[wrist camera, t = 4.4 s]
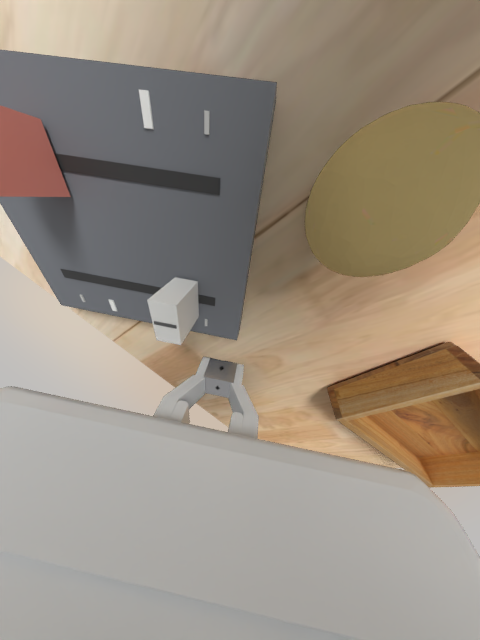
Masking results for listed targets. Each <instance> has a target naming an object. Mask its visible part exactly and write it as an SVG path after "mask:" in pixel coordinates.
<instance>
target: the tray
mask: <svg viewBox="0 0 480 640" xmlns="http://www.w3.org/2000/svg"><path fill="white" fill-rule="evenodd" d="M327 389H328V393H329V397H330V401H331V404H332V407H333V411H334V414H335V417H336V420H337V421H339V422H340V423H342V424H343V425H344V426H346V427H347V428H348V429H350V430H351V431H352V432H354V433H355V434H357V435H358V436H359V437H361V438H362V439H364V440H365V441H366V442H368V443H369V444H370V445H372V446H373V447H374V448H376V449H377V450H379V451H380V452H381V453H383V454H384V455H385V456H387V457H388V458H390V459H391V460H392V461H394V462H395V463H396V464H398V465H399V466H400V467H402V468H403V469H405V470H406V471H408V472H411V473H413V474H415V475H416V476H417V477H418V478H419V479H420V480H421V481H423V482H424V483H425V484H426V485H427V486H428V487H459V486H480V363H478V362H477V361H476V360H475V359H474V358H472V357H471V356H470V355H469V354H467V353H466V352H465V351H464V350H462V349H461V348H460V347H458V346H456V345H455V344H453V343H452V342H446V343H444V344H441V345H439V346H436V347H433V348H431V349H428V350H425V351H423V352H420V353H417V354H415V355H412V356H410V357H407V358H404V359H401V360H399V361H396V362H393V363H391V364H388V365H386V366H383V367H380V368H378V369H375V370H372V371H370V372H367V373H364V374H362V375H359V376H356V377H354V378H351V379H349V380H346V381H343V382H340V383H338V384H335V385H332V386H330V387H327Z"/></svg>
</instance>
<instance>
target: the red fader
mask: <svg viewBox="0 0 480 640" xmlns="http://www.w3.org/2000/svg"><path fill="white" fill-rule="evenodd" d="M0 197H71V196H70V194H69V191H68V189H67V186H66V183H65V181H64V178H63V176H62V173H61V170H60V168H59V165H58V163H57V160H56V157H55V155H54V152H53V150H52V147H51V145H50V142H49V139H48V137H47V134H46V132H45V129H44V126H43V124H42V121H41V119H39V118H36V117H33V116H30V115H27V114H24V113H21V112H18V111H15V110H13V109H10V108H7V107H4V106H1V105H0Z"/></svg>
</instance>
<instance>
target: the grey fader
mask: <svg viewBox="0 0 480 640" xmlns="http://www.w3.org/2000/svg"><path fill="white" fill-rule="evenodd" d="M147 302H148V306H149V310H150V314H151V318H152V323H153V327H154V331H155V335H156V340H158V341H163V342H168V343H173V344H178V345H181V344H182V343H183V341H184V340H185V338H186V336H187V335H188V333H189V332H190V330H191V328H192V327H193V325H194V324H195V322H196V320H197V319H198V317H199V303H198V281H193V280H187V279H182V278H177V277H175V278H174V279H172V280H171V281H170V282H169V283H167V284H166V285H165V286H164V287H162V288H161V289H160V290H159V291H158V292H156V293H155V294H154V295H153V296H151V297H150V298H149V299H148V300H147Z"/></svg>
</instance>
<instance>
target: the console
mask: <svg viewBox="0 0 480 640" xmlns="http://www.w3.org/2000/svg"><path fill="white" fill-rule="evenodd" d="M276 89H277V82H270V81H261V80H253V79H244V78H236V77H227V76H219V75H210V74H202V73H194V72H185V71H177V70H168V69H160V68H151V67H143V66H134V65H126V64H117V63H109V62H101V61H92V60H84V59H75V58H67V57H58V56H50V55H41V54H33V53H24V52H16V51H7V50H0V105H1V106H4V107H7V108H10V109H13V110H15V111H18V112H21V113H24V114H27V115H30V116H33V117H36V118H39V119H41V121H42V124H43V126H44V129H45V132H46V134H47V137H48V139H49V142H50V145H51V147H52V150H53V152H54V155H55V157H56V160H57V163H58V165H59V168H60V170H61V173H62V176H63V178H64V181H65V183H66V186H67V189H68V191H69V194H70V196H71V197H0V203H1V205H2V207H3V209H4V210H5V212H6V214H7V215H8V217H9V219H10V220H11V222H12V224H13V225H14V227H15V229H16V230H17V232H18V234H19V235H20V237H21V239H22V240H23V242H24V244H25V245H26V247H27V249H28V250H29V252H30V254H31V255H32V257H33V259H34V260H35V262H36V264H37V265H38V267H39V269H40V270H41V272H42V274H43V275H44V277H45V279H46V280H47V282H48V284H49V285H50V287H51V289H52V290H53V292H54V294H55V295H56V297H57V299H58V300H59V302H60V304H61V305H64V306H69V307H74V308H79V309H84V310H89V311H94V312H99V313H104V314H109V315H114V316H119V317H124V318H129V319H134V320H139V321H144V322H149V323H152V318H151V314H150V310H149V306H148V302H147V300H148V299H149V298H150V297H151V296H153V295H154V294H155V293H156V292H158V291H159V290H160V289H161V288H162V287H164V286H165V285H166V284H167V283H169V282H170V281H171V280H172V279H174V278H175V277H177V278H182V279H187V280H193V281H198V303H199V317H198V319H197V320H196V322H195V324H194V325H193V327H192V328H191V330H190V331H194V332H199V333H204V334H209V335H214V336H219V337H224V338H229V339H234V340H237V338H238V334H239V330H240V323H241V317H242V311H243V305H244V298H245V292H246V286H247V279H248V273H249V267H250V261H251V254H252V248H253V242H254V235H255V229H256V223H257V216H258V210H259V204H260V198H261V191H262V185H263V179H264V172H265V166H266V160H267V153H268V147H269V141H270V135H271V128H272V122H273V116H274V109H275V103H276Z"/></svg>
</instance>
